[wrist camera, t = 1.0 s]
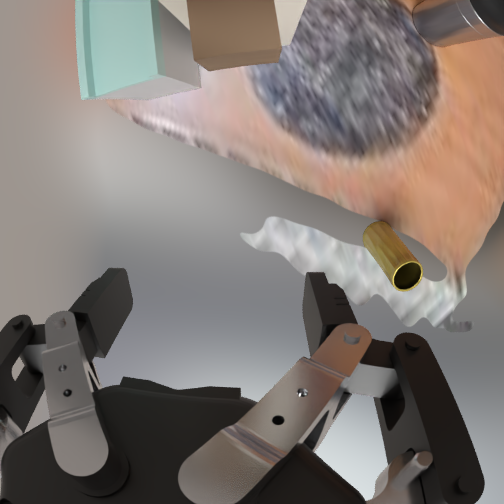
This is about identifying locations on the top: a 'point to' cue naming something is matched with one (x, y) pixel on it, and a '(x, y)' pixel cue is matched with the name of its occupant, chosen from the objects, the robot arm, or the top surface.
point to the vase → (392, 256)
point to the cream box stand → (287, 10)
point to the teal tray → (117, 45)
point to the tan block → (233, 33)
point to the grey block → (168, 64)
